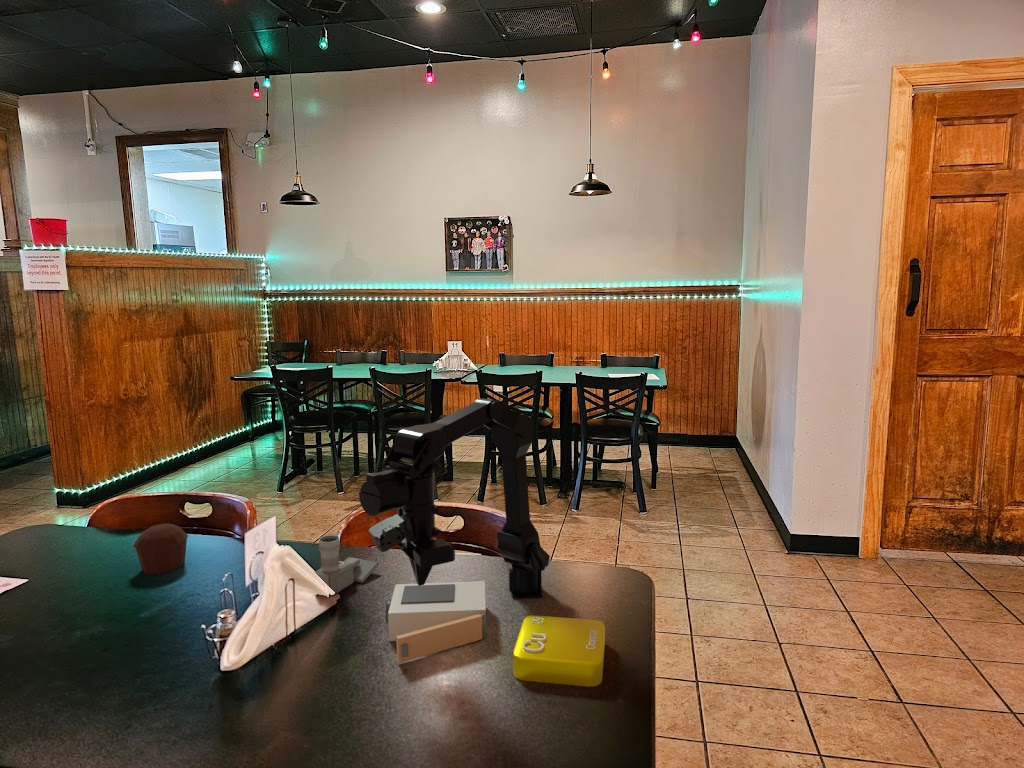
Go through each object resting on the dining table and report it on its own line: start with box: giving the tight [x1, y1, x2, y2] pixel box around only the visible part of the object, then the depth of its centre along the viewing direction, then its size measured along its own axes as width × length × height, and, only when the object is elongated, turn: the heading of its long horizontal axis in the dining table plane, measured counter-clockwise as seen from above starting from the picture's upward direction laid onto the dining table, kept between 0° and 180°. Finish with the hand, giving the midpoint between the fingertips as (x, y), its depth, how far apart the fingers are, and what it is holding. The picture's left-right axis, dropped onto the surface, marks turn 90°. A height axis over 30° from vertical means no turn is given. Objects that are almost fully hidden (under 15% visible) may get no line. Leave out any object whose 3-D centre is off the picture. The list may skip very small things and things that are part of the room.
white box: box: [385, 580, 487, 642], centre depth 127 cm, size 19×12×6 cm, turn 93°
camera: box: [314, 534, 380, 594], centre depth 145 cm, size 9×12×15 cm
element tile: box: [512, 614, 606, 688], centre depth 114 cm, size 15×15×5 cm
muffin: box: [132, 523, 189, 575], centre depth 155 cm, size 12×11×10 cm
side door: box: [395, 613, 487, 664], centre depth 117 cm, size 17×2×4 cm, turn 118°
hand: (420, 584), depth 117 cm, fingers closed
